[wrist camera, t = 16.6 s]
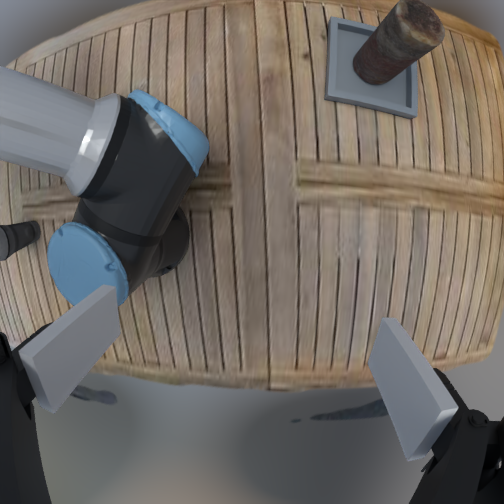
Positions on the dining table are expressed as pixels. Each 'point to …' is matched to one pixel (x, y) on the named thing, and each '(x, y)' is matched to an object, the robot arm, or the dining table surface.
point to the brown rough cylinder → (398, 42)
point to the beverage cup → (17, 237)
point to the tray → (353, 86)
